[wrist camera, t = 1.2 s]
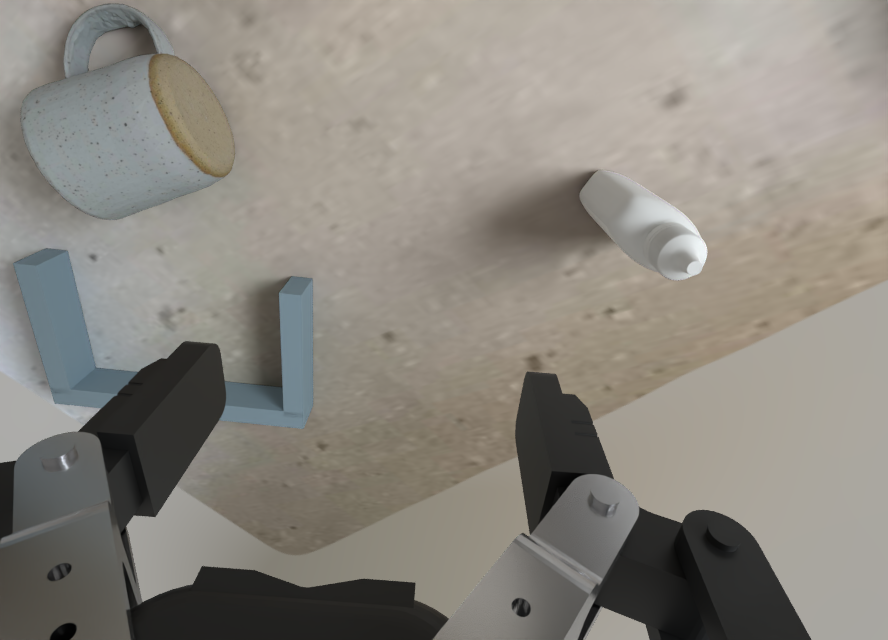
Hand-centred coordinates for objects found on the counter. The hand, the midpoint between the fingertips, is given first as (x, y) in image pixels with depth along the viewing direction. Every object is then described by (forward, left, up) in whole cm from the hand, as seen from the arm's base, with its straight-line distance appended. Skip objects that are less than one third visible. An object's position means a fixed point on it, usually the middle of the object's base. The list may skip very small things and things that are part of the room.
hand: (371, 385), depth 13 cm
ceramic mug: (-3, -17, -23) cm, 29 cm away
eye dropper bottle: (-1, +13, -23) cm, 26 cm away
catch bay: (+13, -17, -23) cm, 31 cm away
